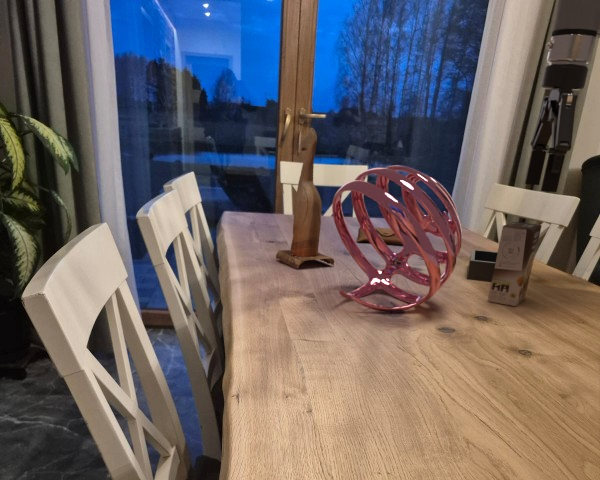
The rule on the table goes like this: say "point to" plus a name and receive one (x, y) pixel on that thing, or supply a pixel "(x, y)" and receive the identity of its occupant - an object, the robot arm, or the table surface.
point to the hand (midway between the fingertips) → (539, 188)
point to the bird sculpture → (306, 213)
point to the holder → (481, 265)
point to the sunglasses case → (384, 233)
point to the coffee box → (514, 263)
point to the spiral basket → (401, 234)
